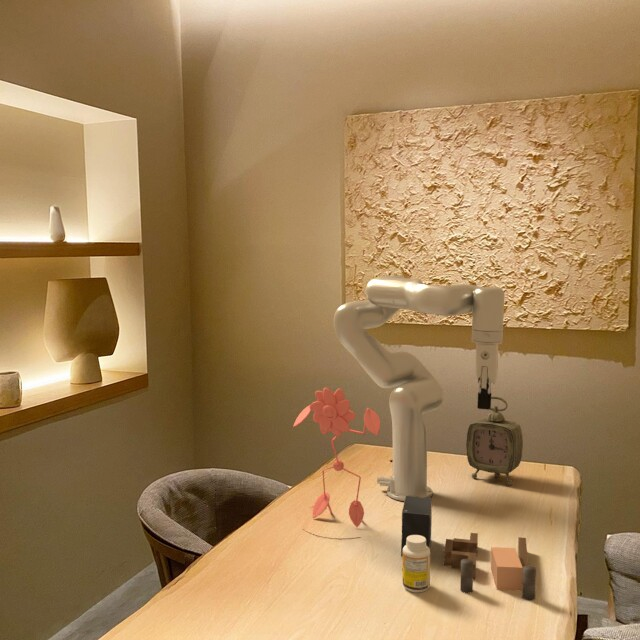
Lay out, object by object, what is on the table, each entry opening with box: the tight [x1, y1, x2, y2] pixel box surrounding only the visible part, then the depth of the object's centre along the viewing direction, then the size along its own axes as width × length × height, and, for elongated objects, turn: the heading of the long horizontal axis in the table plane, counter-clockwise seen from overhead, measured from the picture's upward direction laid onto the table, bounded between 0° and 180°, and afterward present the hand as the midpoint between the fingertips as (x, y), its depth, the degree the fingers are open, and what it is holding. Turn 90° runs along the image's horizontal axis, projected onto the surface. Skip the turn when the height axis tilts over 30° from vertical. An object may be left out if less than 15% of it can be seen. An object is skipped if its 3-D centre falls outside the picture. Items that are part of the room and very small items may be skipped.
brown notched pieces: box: [443, 532, 537, 601], centre depth 146 cm, size 18×22×6 cm
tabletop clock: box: [465, 396, 524, 486], centre depth 202 cm, size 14×9×25 cm, turn 55°
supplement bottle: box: [402, 535, 431, 593], centre depth 139 cm, size 6×6×10 cm
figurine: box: [292, 387, 382, 541], centre depth 169 cm, size 15×26×35 cm, turn 56°
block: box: [490, 546, 523, 591], centre depth 142 cm, size 5×9×5 cm, turn 174°
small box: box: [400, 496, 433, 557], centre depth 157 cm, size 11×6×10 cm, turn 168°
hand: (484, 408), depth 173 cm, fingers closed
